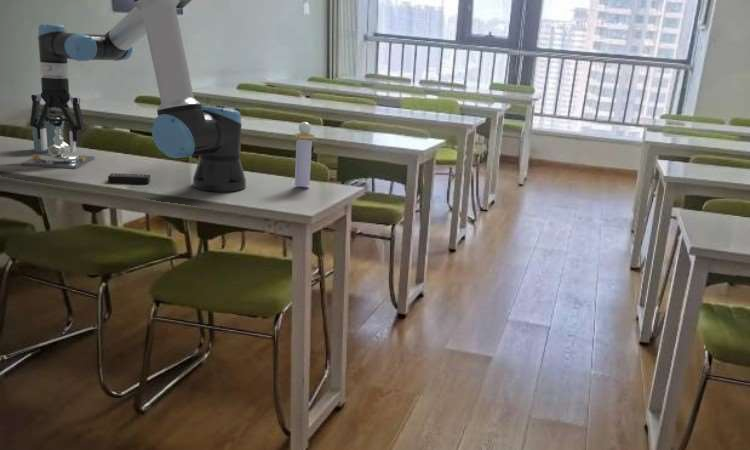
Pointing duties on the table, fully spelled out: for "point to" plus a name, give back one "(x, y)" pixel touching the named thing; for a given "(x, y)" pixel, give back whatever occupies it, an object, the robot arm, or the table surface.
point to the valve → (57, 138)
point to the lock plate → (58, 160)
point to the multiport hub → (129, 178)
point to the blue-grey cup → (50, 133)
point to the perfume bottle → (303, 156)
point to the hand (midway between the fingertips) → (58, 150)
